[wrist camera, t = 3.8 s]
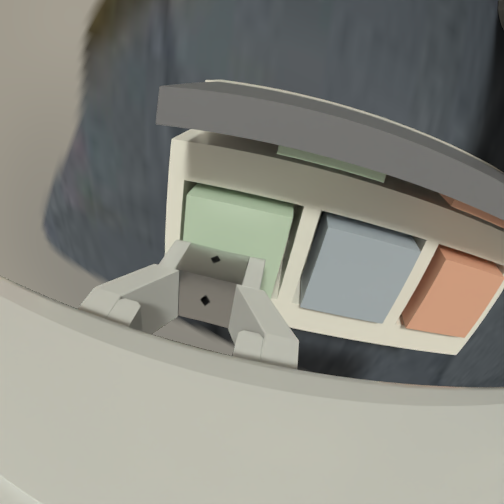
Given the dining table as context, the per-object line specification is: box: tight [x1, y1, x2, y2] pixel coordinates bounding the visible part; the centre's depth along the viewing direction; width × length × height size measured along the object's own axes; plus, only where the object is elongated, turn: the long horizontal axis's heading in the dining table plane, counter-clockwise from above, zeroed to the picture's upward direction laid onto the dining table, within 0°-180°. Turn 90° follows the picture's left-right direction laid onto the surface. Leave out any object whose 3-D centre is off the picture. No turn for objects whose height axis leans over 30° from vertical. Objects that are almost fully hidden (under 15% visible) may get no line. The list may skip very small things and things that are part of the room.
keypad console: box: [156, 80, 504, 355], centre depth 12 cm, size 15×9×8 cm, turn 80°
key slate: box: [300, 211, 421, 324], centre depth 12 cm, size 4×4×2 cm
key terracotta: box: [402, 244, 504, 338], centre depth 12 cm, size 4×4×2 cm
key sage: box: [183, 183, 294, 299], centre depth 12 cm, size 4×4×2 cm
